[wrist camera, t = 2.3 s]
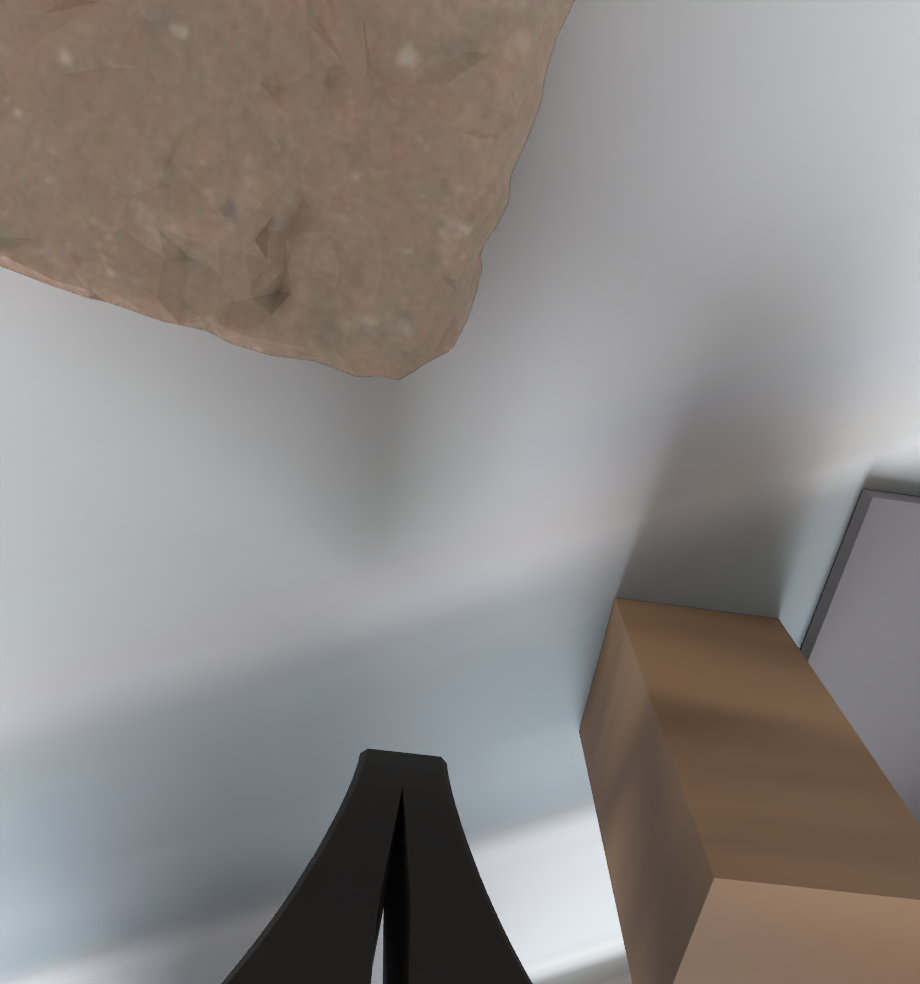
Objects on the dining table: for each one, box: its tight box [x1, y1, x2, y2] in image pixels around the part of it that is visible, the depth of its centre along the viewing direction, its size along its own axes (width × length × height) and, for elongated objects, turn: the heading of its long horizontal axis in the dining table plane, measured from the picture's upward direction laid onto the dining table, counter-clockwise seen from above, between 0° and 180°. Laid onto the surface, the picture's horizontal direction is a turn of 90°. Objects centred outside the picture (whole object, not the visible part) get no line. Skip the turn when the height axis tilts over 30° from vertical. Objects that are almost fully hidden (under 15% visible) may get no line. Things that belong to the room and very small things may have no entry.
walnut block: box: [579, 598, 920, 984], centre depth 14 cm, size 4×4×7 cm
